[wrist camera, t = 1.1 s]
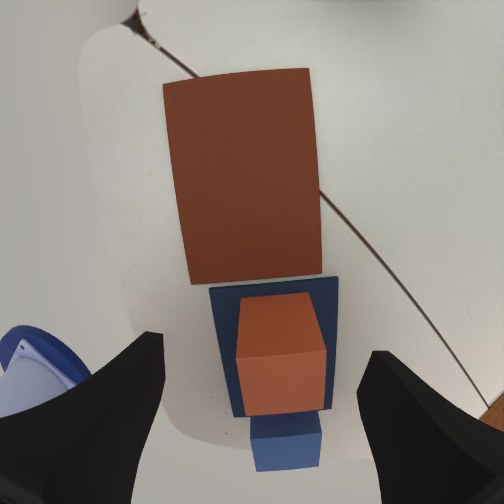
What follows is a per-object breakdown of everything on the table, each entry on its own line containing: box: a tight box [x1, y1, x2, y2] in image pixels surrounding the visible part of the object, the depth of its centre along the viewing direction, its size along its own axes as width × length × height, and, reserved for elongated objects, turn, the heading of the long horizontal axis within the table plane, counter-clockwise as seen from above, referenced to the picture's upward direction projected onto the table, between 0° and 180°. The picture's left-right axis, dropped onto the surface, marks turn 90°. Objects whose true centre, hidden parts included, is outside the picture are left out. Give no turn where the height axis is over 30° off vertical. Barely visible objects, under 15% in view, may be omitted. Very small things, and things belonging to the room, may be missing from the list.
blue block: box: [250, 410, 322, 472], centre depth 20 cm, size 4×4×6 cm
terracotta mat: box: [163, 68, 322, 285], centre depth 18 cm, size 12×8×1 cm, turn 6°
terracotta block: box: [236, 292, 327, 416], centre depth 18 cm, size 4×4×6 cm
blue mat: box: [209, 276, 339, 417], centre depth 22 cm, size 12×8×1 cm, turn 6°
